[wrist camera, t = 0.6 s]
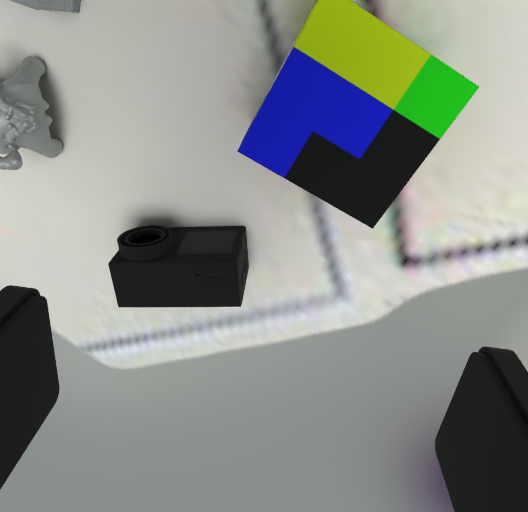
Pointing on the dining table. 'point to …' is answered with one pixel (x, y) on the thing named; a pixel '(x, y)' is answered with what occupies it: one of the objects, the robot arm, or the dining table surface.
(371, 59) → the puzzle toy
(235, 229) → the digital camera
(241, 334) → the dining table surface
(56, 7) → the grey angled bar
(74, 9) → the grey metal rail
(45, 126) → the elephant statuette
